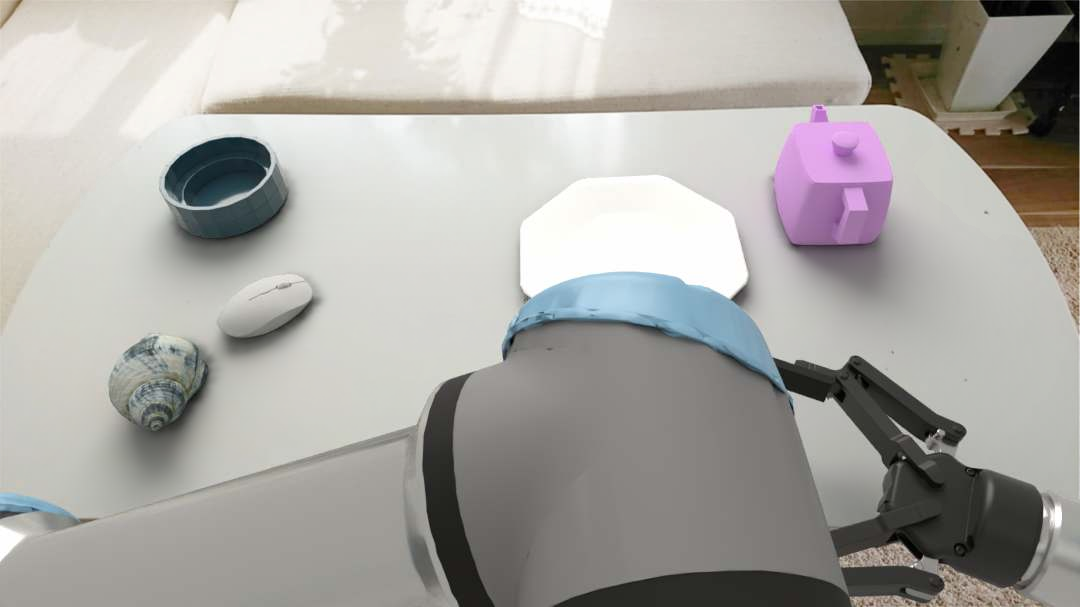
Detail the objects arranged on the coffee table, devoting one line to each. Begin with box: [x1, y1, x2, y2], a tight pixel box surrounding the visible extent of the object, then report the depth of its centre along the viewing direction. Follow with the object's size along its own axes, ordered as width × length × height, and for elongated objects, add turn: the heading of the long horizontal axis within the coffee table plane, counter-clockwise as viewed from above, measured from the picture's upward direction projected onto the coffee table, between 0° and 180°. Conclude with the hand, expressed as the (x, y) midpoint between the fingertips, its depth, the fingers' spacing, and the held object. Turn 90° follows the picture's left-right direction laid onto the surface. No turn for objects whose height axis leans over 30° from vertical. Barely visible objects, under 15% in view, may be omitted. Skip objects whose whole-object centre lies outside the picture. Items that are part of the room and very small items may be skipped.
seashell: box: [107, 332, 209, 432], centre depth 71 cm, size 6×8×12 cm
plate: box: [519, 174, 750, 300], centre depth 81 cm, size 24×24×2 cm
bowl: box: [158, 133, 289, 239], centre depth 88 cm, size 13×13×5 cm
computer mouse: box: [216, 273, 314, 339], centre depth 78 cm, size 6×10×3 cm, turn 132°
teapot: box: [773, 104, 894, 246], centre depth 81 cm, size 18×10×10 cm, turn 179°
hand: (724, 429), depth 58 cm, fingers open, 13 cm apart
